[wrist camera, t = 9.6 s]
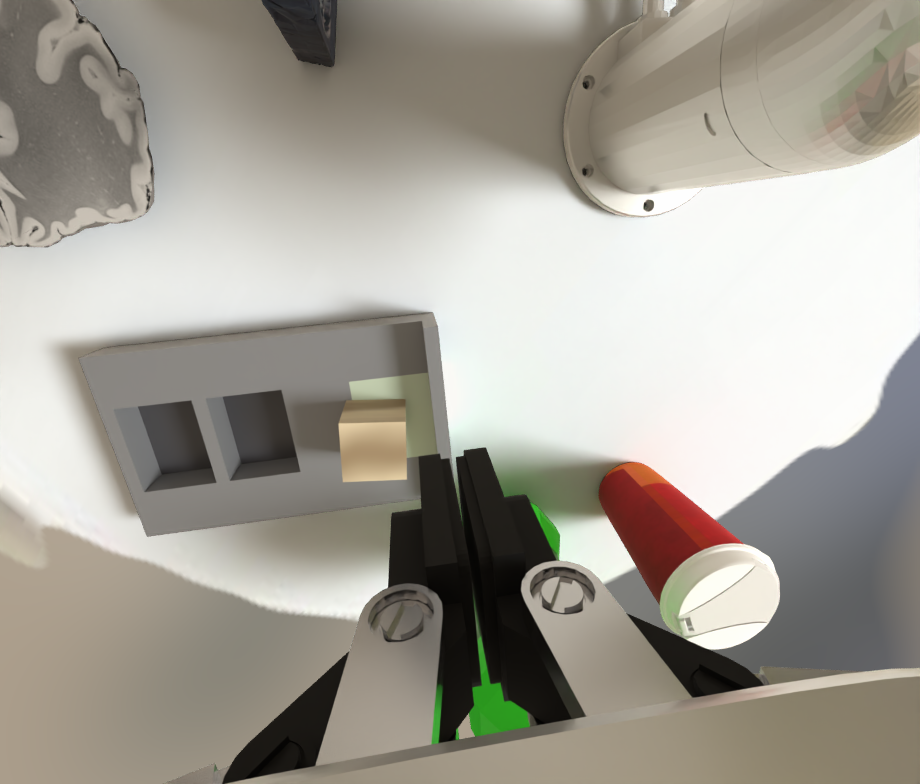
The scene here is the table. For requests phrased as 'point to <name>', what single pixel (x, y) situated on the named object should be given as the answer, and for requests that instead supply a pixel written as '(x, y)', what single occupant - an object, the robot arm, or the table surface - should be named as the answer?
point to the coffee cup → (690, 560)
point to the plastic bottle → (488, 698)
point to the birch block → (373, 440)
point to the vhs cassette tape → (307, 27)
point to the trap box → (263, 418)
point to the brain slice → (66, 128)
